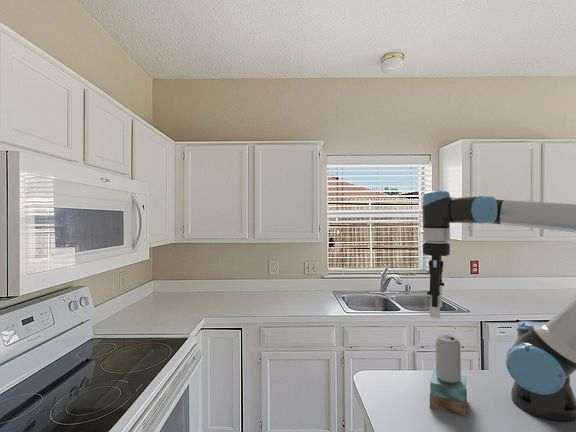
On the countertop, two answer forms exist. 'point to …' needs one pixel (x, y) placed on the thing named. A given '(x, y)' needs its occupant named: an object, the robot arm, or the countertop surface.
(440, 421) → the countertop surface
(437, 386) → the teal and brown block
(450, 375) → the beverage can
